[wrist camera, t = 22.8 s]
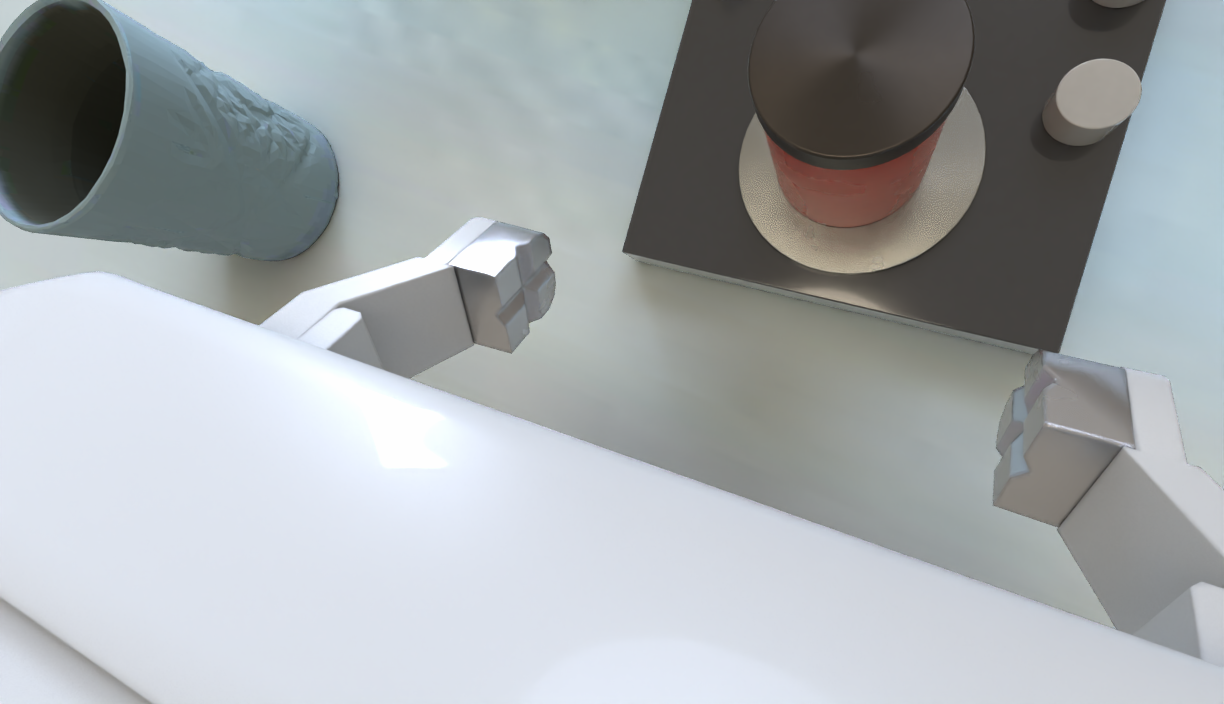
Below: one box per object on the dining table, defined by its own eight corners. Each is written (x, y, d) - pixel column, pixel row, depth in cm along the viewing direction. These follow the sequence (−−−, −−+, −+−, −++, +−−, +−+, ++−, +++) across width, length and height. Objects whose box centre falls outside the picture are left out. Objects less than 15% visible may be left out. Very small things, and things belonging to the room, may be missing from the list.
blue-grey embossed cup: (349, 95, 36) (130, -39, 25) (351, 269, 36) (125, 212, 24) (218, 127, 40) (-27, 21, 28) (217, 287, 39) (-36, 244, 28)
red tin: (951, 93, 24) (1004, -45, 16) (907, 244, 24) (938, 176, 16) (796, 75, 26) (779, -57, 18) (756, 214, 26) (722, 141, 18)
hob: (1215, -214, 24) (1278, -316, 20) (1042, 356, 24) (1075, 351, 21) (764, -201, 29) (755, -279, 26) (634, 260, 30) (609, 243, 27)
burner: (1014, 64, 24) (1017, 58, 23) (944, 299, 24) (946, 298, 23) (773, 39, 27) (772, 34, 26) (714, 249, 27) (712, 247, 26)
